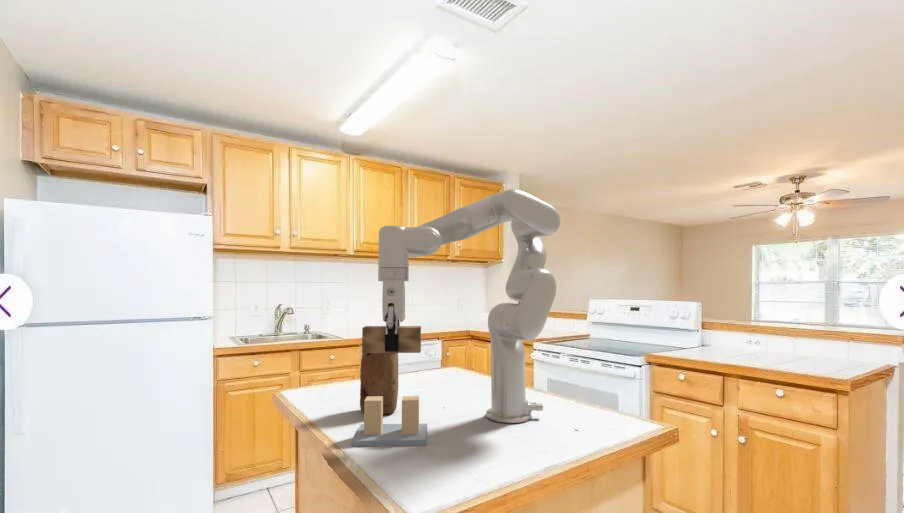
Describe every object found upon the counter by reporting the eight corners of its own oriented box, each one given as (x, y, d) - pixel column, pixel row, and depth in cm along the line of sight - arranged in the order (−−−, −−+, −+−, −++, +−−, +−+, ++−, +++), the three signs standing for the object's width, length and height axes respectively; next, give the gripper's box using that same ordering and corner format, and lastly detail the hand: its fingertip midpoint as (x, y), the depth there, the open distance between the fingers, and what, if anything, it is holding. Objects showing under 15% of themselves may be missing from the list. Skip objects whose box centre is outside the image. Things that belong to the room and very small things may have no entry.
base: (427, 428, 114) (427, 391, 115) (426, 445, 102) (426, 404, 103) (361, 428, 114) (361, 392, 114) (352, 446, 102) (352, 405, 102)
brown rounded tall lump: (399, 408, 132) (400, 341, 133) (393, 416, 125) (394, 344, 126) (364, 407, 133) (365, 340, 134) (356, 415, 126) (357, 343, 127)
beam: (420, 349, 112) (421, 326, 112) (420, 352, 107) (420, 327, 108) (365, 350, 111) (365, 326, 112) (362, 353, 107) (362, 328, 107)
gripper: (406, 275, 102) (405, 355, 101) (410, 276, 119) (410, 344, 118) (373, 275, 102) (372, 355, 101) (382, 276, 119) (381, 344, 118)
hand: (392, 348), depth 109 cm, fingers closed on beam, 4 cm apart
